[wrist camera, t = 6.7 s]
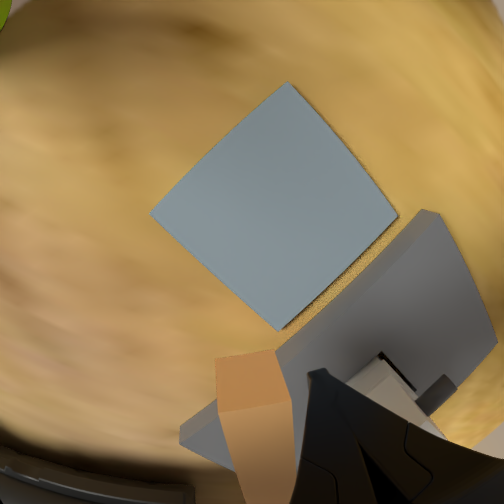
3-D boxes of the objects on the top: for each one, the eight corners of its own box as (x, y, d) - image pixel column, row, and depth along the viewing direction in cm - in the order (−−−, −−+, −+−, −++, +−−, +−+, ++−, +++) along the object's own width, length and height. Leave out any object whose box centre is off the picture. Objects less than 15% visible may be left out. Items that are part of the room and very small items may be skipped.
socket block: (485, 332, 18) (543, 377, 12) (303, 485, 20) (323, 550, 14) (421, 208, 15) (516, 239, 9) (179, 425, 17) (176, 516, 10)
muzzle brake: (194, 448, 19) (196, 525, 20) (-85, 372, 14) (-54, 455, 15) (198, 558, 9) (202, 610, 10) (-141, 411, 5) (-91, 500, 6)
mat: (393, 214, 15) (397, 215, 14) (276, 327, 15) (277, 331, 15) (285, 83, 12) (287, 81, 12) (150, 212, 13) (148, 213, 13)
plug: (422, 357, 18) (480, 418, 11) (347, 422, 18) (385, 495, 12) (391, 318, 16) (461, 384, 10) (306, 393, 17) (342, 480, 11)
